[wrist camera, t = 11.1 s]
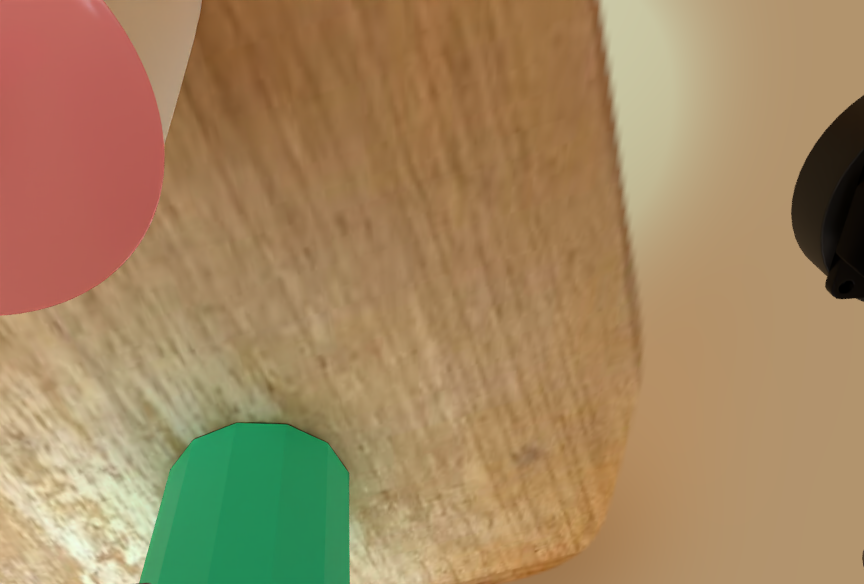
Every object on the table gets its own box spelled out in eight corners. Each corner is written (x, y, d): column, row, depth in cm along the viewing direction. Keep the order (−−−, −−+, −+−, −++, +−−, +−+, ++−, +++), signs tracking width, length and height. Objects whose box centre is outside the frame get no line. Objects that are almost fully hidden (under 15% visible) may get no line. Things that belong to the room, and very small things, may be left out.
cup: (233, -156, 15) (-11, -115, 5) (258, 105, 18) (140, 478, 7) (-49, -166, 14) (-1023, -147, 4) (24, 104, 17) (-440, 507, 7)
